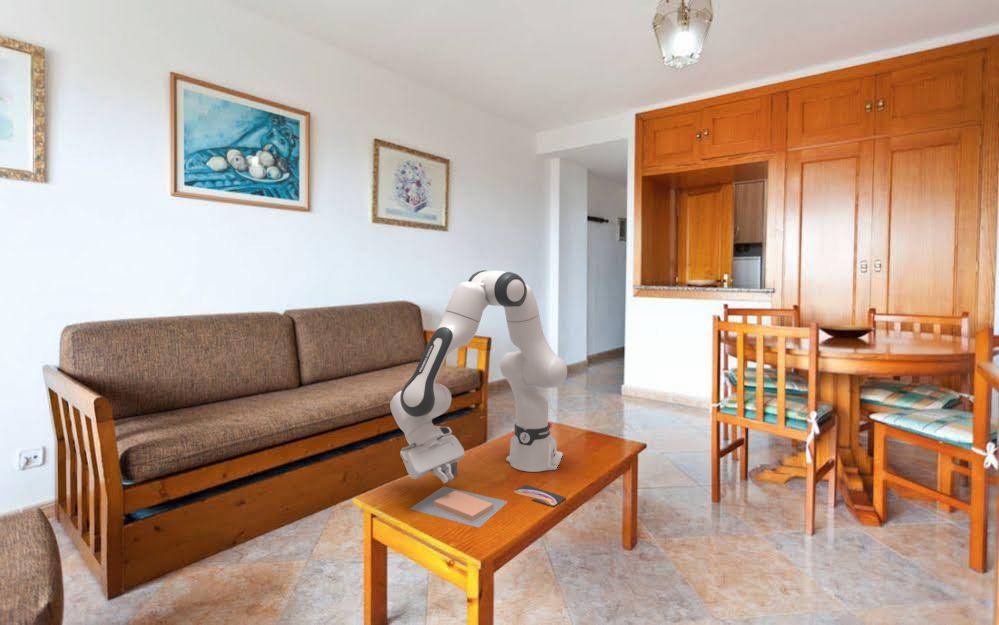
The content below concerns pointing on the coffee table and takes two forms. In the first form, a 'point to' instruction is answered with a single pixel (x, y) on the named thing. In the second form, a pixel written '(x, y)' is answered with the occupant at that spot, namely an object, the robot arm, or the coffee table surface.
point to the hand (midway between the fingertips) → (449, 480)
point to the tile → (463, 506)
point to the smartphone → (540, 495)
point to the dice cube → (452, 469)
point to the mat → (428, 508)
